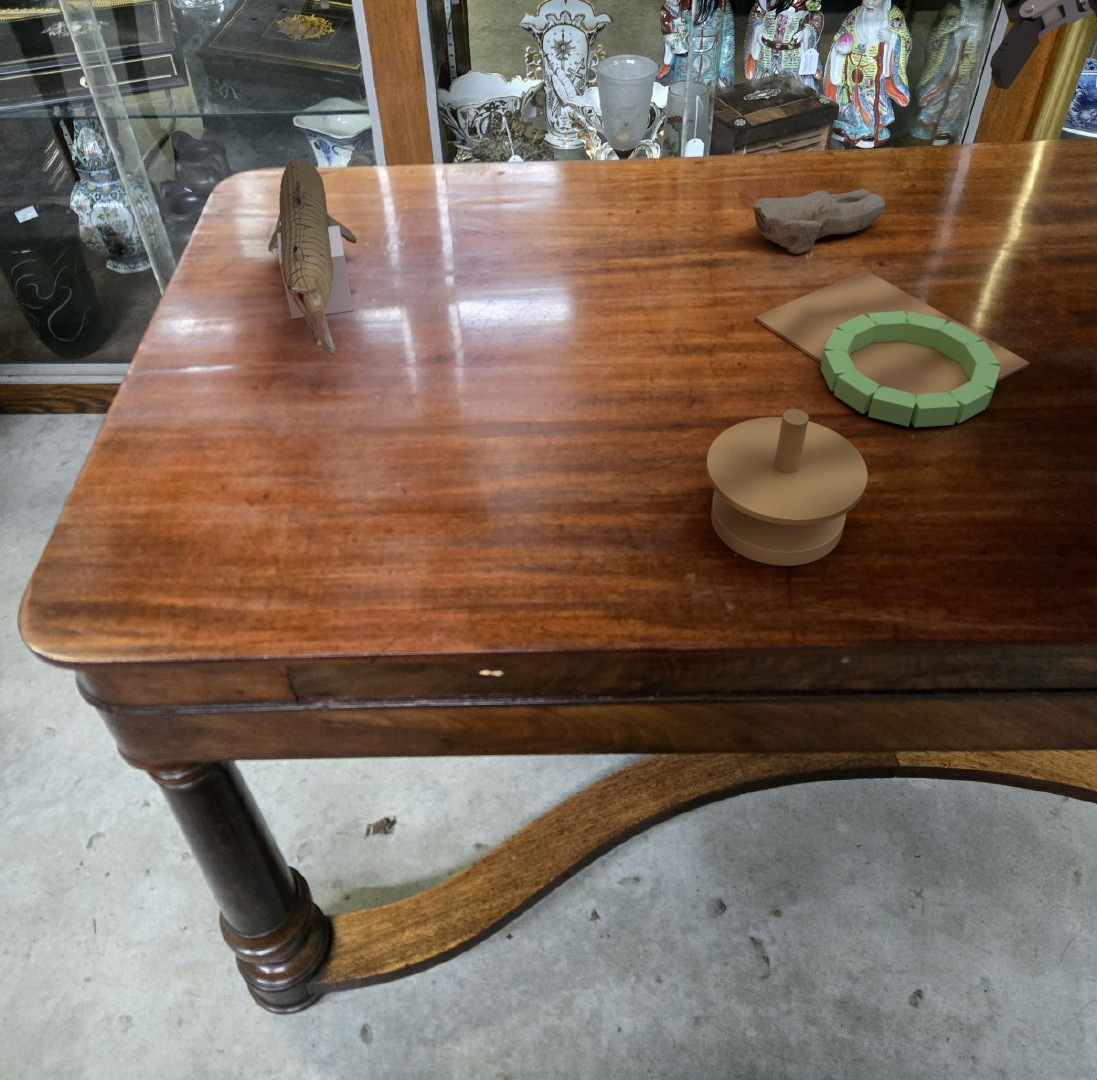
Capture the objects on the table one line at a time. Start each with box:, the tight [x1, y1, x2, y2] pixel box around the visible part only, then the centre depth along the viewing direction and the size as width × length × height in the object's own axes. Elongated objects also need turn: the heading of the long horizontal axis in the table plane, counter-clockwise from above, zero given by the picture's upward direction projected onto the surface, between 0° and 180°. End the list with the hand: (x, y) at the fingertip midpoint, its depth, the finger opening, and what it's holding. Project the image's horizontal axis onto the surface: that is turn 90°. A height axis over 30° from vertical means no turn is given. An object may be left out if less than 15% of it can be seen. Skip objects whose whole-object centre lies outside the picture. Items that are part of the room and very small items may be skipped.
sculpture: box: [752, 188, 886, 255], centre depth 110 cm, size 7×5×15 cm
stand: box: [705, 408, 869, 567], centre depth 76 cm, size 12×12×10 cm
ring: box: [820, 311, 1000, 428], centre depth 92 cm, size 15×15×2 cm
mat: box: [754, 269, 1031, 425], centre depth 97 cm, size 20×15×1 cm
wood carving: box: [268, 159, 357, 356], centre depth 98 cm, size 9×35×11 cm, turn 13°
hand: (1057, 100), depth 66 cm, fingers open, 8 cm apart
